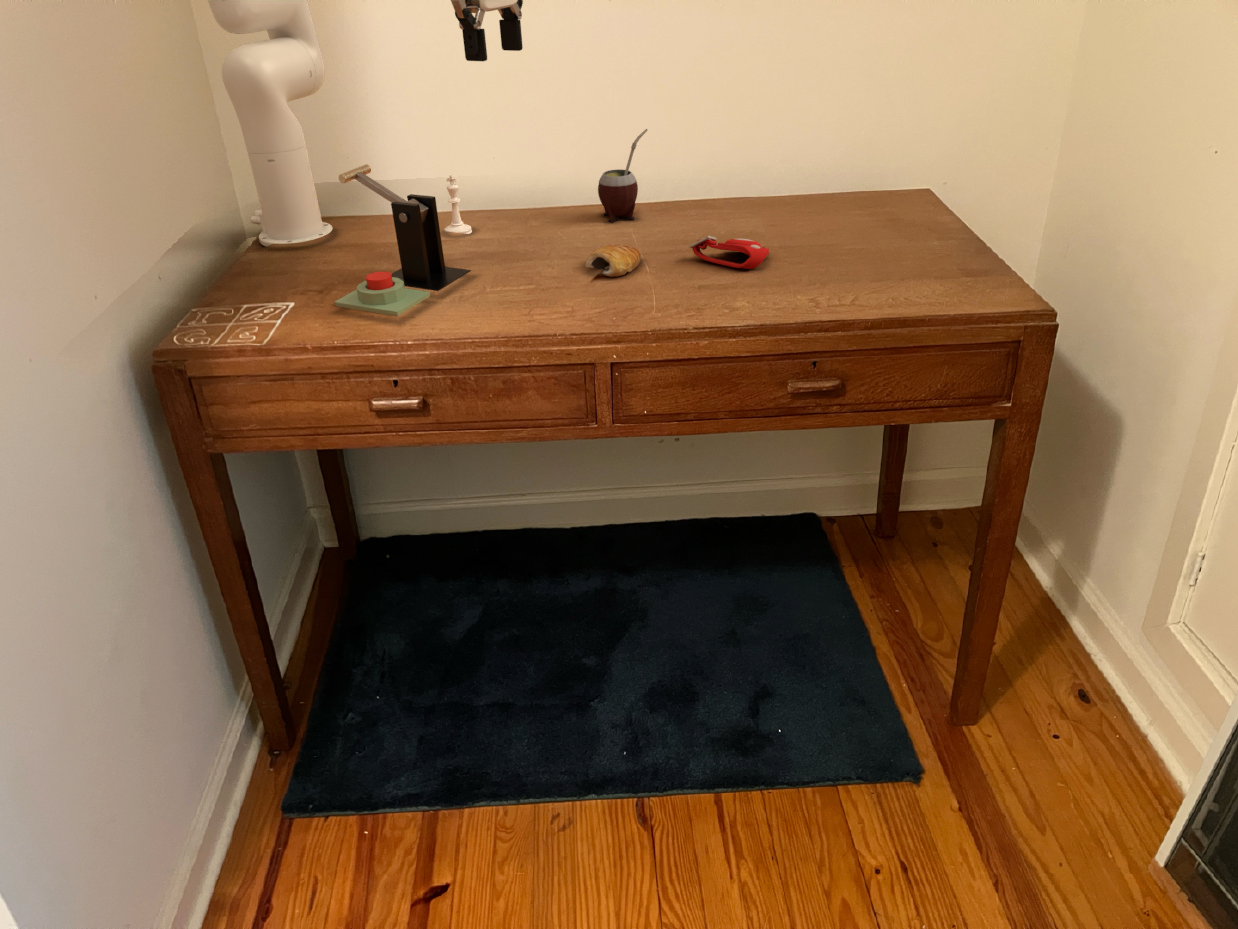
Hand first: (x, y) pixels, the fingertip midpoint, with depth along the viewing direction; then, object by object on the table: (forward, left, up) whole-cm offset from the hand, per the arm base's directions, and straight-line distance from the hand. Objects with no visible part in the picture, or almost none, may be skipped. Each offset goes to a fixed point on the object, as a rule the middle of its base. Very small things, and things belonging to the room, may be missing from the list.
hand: (495, 55), depth 129 cm
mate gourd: (+5, +29, -31) cm, 43 cm away
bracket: (-10, -11, -31) cm, 34 cm away
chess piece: (-19, +12, -31) cm, 38 cm away
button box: (-10, -21, -31) cm, 39 cm away
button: (-10, -21, -28) cm, 37 cm away
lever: (-15, -11, -19) cm, 26 cm away
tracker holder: (+31, +14, -31) cm, 46 cm away
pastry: (+15, +4, -31) cm, 35 cm away
